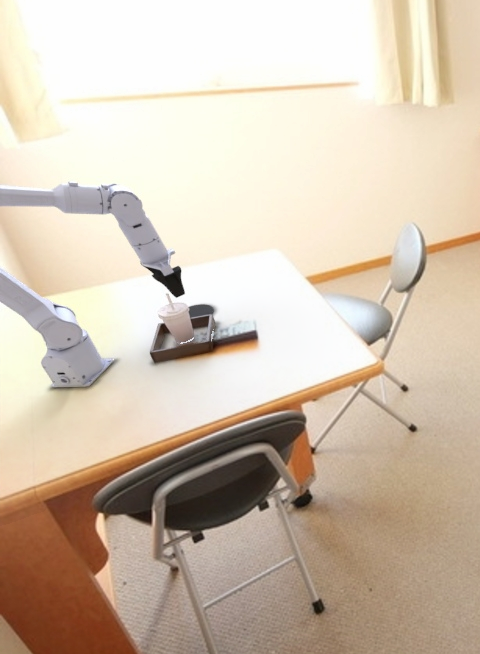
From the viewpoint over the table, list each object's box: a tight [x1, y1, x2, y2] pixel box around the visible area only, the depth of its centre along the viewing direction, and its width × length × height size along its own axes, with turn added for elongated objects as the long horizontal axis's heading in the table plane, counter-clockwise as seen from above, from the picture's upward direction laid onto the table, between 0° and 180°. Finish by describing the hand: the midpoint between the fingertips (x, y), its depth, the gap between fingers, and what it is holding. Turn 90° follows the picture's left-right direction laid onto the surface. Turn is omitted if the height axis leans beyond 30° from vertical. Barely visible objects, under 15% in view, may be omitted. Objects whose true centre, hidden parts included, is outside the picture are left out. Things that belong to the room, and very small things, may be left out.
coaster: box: [188, 303, 214, 318], centre depth 131 cm, size 9×9×1 cm
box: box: [149, 313, 217, 364], centre depth 120 cm, size 13×12×3 cm
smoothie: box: [157, 292, 196, 346], centre depth 117 cm, size 6×6×14 cm
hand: (174, 289), depth 117 cm, fingers open, 7 cm apart
